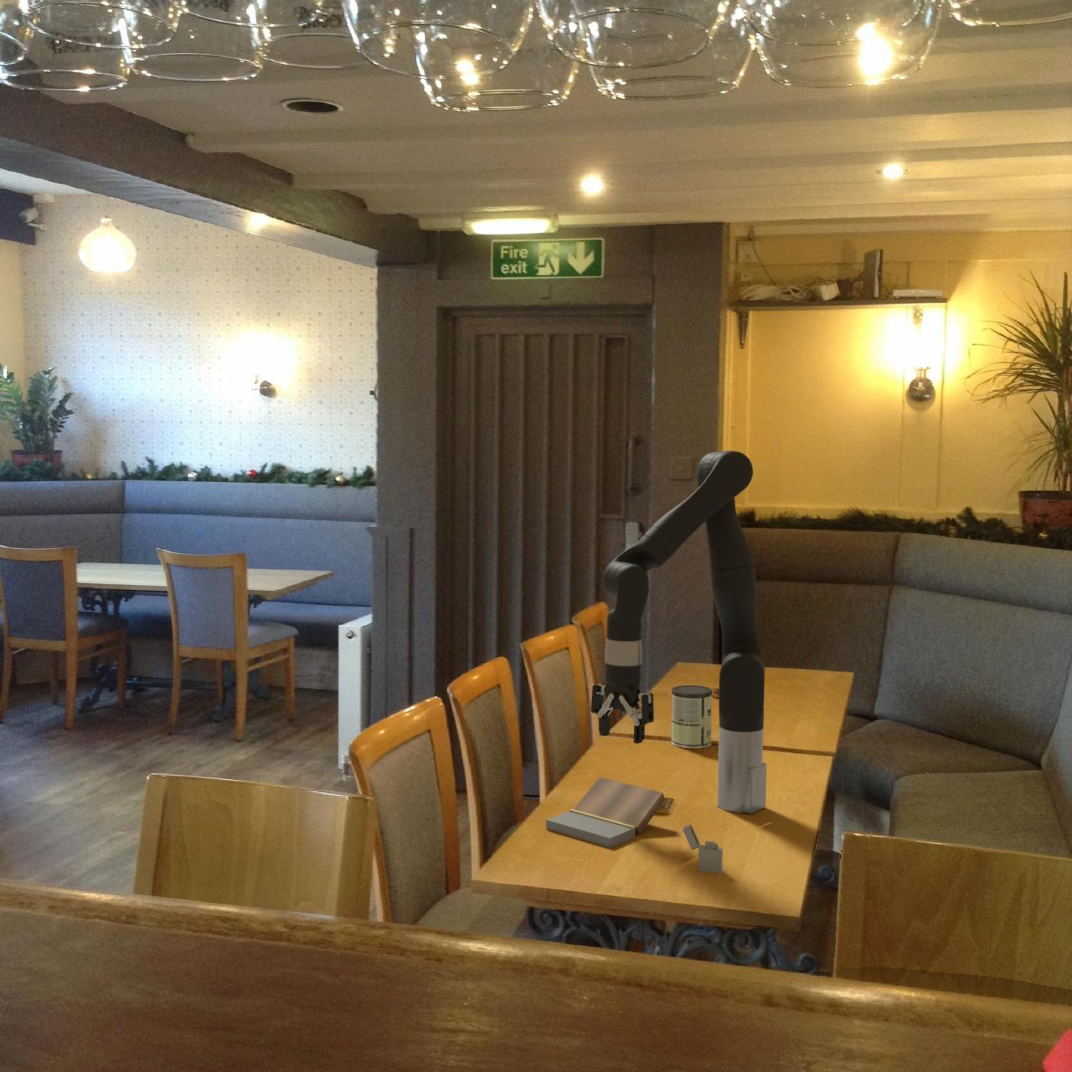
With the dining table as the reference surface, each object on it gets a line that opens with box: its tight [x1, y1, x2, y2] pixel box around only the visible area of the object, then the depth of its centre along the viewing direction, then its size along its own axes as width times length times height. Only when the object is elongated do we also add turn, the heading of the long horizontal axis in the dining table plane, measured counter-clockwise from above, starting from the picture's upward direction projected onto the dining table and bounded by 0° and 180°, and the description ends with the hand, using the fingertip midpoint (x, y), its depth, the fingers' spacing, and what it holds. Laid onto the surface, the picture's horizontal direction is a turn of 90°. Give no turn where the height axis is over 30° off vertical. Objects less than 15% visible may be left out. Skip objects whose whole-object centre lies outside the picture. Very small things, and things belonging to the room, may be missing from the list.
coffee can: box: [670, 684, 714, 750], centre depth 300 cm, size 10×10×14 cm
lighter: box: [682, 823, 724, 875], centre depth 213 cm, size 7×2×8 cm, turn 71°
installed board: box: [545, 808, 636, 849], centre depth 232 cm, size 16×8×2 cm, turn 49°
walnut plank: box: [573, 776, 666, 836], centre depth 239 cm, size 16×10×2 cm
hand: (621, 739), depth 241 cm, fingers open, 8 cm apart
